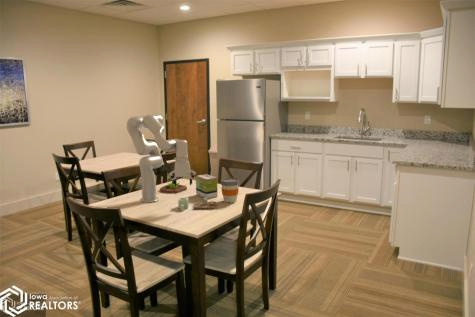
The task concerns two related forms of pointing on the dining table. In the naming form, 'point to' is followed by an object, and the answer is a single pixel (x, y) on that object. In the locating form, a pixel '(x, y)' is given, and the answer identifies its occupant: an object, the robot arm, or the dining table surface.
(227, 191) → the reusable coffee cup
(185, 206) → the collar
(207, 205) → the post board
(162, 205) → the dining table surface
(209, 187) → the tea box
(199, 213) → the dining table surface
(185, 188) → the plant
